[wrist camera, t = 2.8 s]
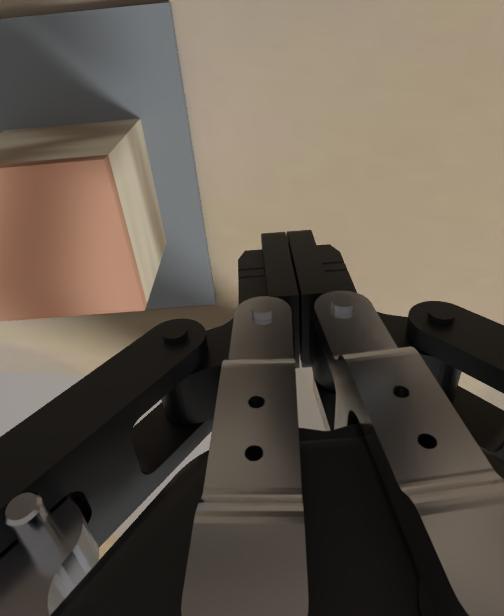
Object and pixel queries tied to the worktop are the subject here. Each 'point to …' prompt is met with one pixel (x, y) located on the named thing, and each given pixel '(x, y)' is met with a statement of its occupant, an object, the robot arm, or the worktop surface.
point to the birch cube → (77, 221)
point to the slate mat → (117, 114)
